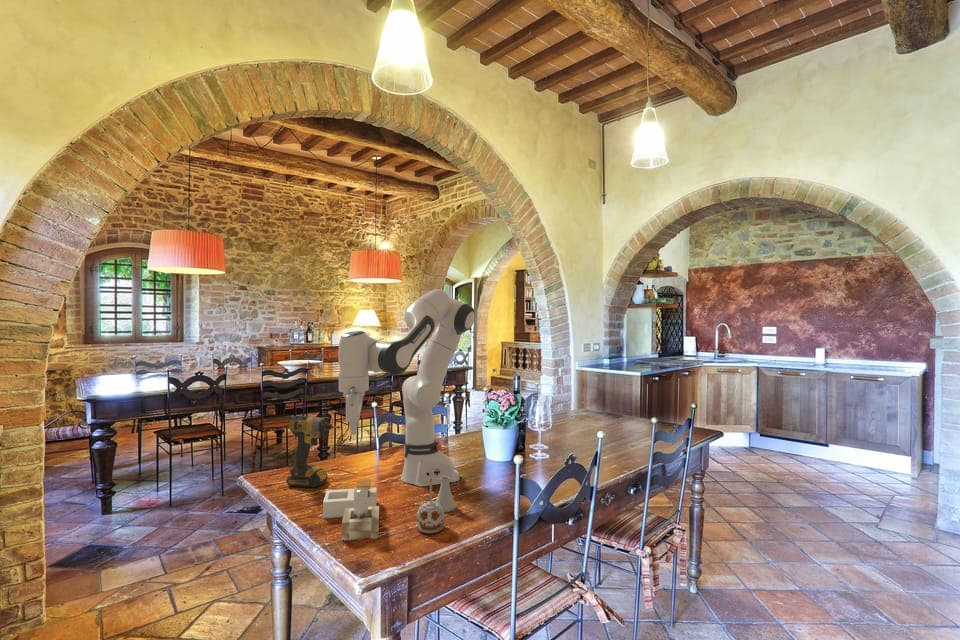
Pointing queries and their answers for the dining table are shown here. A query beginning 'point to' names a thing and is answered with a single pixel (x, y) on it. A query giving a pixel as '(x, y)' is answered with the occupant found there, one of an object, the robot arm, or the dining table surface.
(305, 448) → the cordless drill
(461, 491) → the dining table surface
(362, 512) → the grey metallic cylinder
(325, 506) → the socket block
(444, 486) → the flask
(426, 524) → the decorative ornament
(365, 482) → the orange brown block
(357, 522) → the beige square holder
